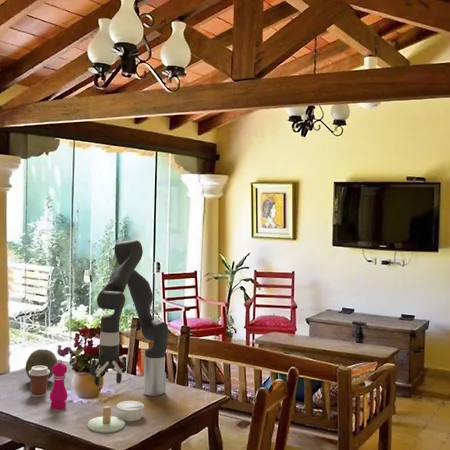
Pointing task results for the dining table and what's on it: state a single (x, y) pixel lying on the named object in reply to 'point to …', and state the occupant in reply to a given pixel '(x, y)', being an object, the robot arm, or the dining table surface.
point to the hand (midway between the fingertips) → (107, 384)
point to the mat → (105, 433)
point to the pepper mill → (58, 386)
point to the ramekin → (130, 410)
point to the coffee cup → (39, 380)
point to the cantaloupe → (41, 360)
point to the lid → (106, 422)
